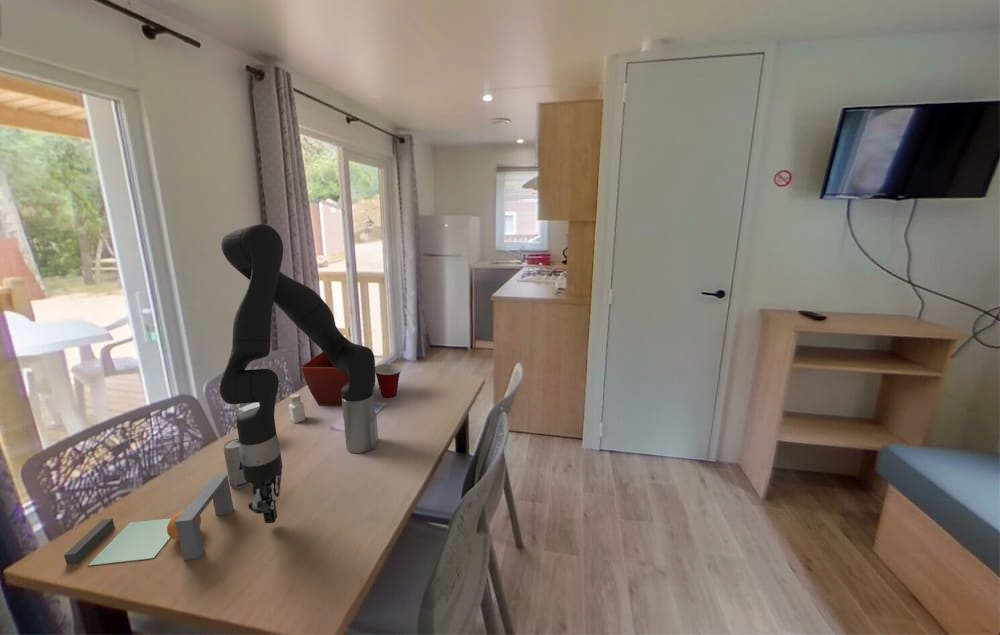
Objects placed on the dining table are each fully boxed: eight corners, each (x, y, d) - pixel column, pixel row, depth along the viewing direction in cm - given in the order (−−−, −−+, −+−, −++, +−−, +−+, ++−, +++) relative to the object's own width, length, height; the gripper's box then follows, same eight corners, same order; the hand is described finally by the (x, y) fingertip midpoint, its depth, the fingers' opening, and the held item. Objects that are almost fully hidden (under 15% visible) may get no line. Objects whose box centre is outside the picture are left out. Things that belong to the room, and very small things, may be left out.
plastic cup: (399, 401, 156) (398, 373, 153) (372, 401, 156) (370, 372, 153) (406, 390, 166) (404, 363, 163) (380, 389, 166) (378, 362, 164)
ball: (211, 521, 93) (200, 501, 91) (196, 542, 87) (183, 521, 85) (184, 527, 93) (173, 507, 91) (167, 549, 87) (155, 528, 85)
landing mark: (187, 517, 95) (187, 516, 95) (153, 558, 84) (153, 557, 84) (130, 523, 93) (130, 522, 93) (88, 566, 82) (87, 565, 82)
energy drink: (258, 478, 109) (251, 439, 106) (240, 491, 105) (233, 450, 102) (243, 474, 111) (237, 436, 108) (225, 486, 106) (217, 446, 103)
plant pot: (327, 388, 168) (323, 350, 163) (372, 389, 167) (369, 351, 163) (304, 409, 149) (299, 367, 145) (355, 410, 149) (351, 368, 144)
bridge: (233, 508, 98) (227, 474, 96) (199, 558, 84) (191, 519, 81) (220, 510, 98) (213, 475, 95) (183, 560, 83) (175, 521, 81)
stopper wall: (114, 527, 92) (112, 518, 91) (78, 563, 82) (75, 553, 82) (105, 528, 92) (102, 519, 91) (66, 565, 82) (63, 555, 81)
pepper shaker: (306, 420, 141) (303, 395, 139) (294, 424, 138) (291, 399, 136) (301, 416, 144) (298, 392, 141) (289, 420, 141) (286, 395, 138)
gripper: (267, 471, 83) (278, 540, 87) (289, 437, 95) (297, 499, 99) (227, 474, 81) (240, 545, 86) (255, 440, 94) (265, 502, 98)
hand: (271, 520), depth 93 cm, fingers closed
